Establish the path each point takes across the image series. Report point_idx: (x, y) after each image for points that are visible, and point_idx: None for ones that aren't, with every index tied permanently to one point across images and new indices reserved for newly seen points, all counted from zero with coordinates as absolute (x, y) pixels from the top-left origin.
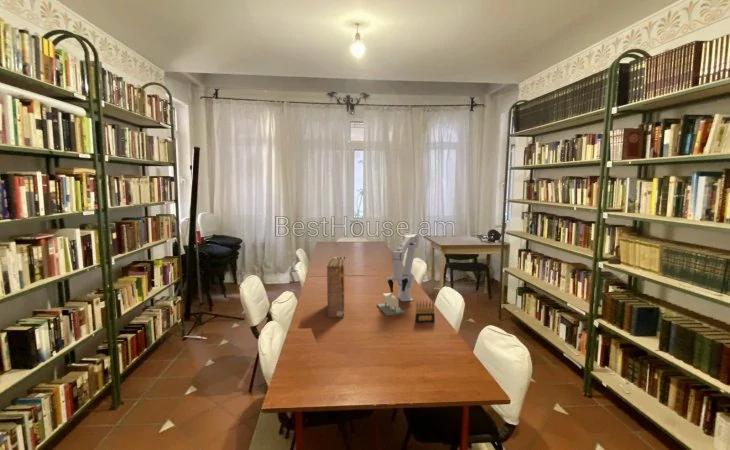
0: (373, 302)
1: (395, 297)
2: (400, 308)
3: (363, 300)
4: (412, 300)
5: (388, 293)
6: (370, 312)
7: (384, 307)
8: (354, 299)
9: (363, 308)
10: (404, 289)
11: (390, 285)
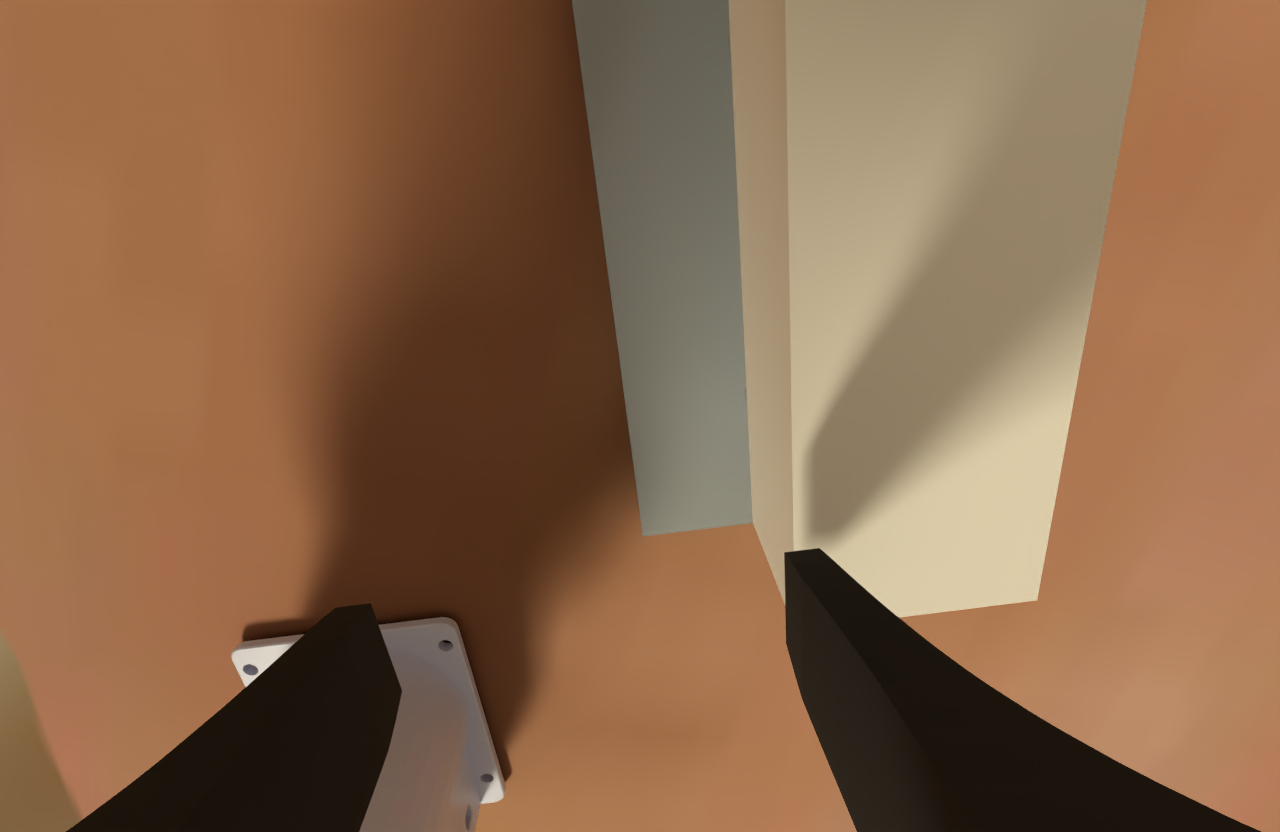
0: (947, 634)
1: (801, 128)
2: (592, 133)
3: (1053, 723)
4: (252, 640)
5: None
6: (1266, 121)
7: None
8: (1154, 767)
9: (1256, 381)
10: (294, 651)
11: (1088, 774)
